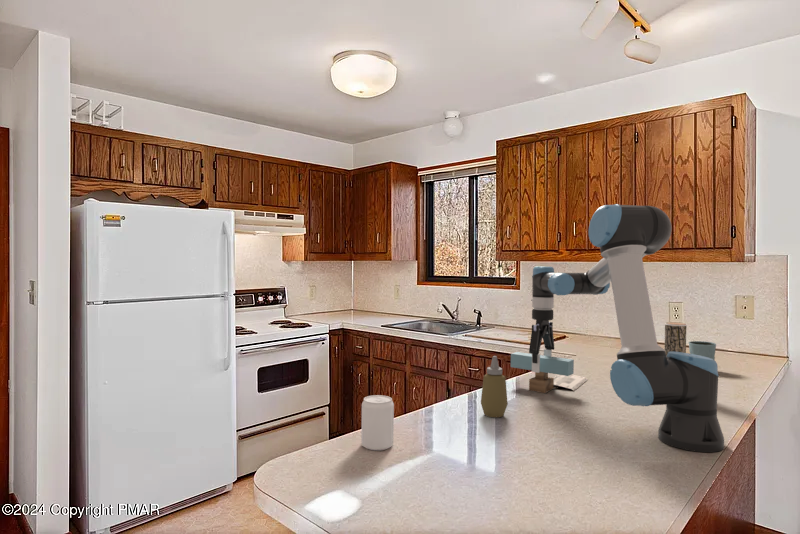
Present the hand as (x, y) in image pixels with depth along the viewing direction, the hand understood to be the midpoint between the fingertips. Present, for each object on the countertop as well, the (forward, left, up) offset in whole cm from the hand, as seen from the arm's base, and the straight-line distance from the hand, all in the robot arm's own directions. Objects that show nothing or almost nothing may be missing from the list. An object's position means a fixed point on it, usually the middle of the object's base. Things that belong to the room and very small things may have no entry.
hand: (541, 369), depth 190 cm
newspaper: (+15, -3, -8) cm, 17 cm away
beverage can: (-81, +10, -7) cm, 82 cm away
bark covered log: (+26, -39, -7) cm, 47 cm away
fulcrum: (0, 0, -7) cm, 7 cm away
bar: (0, 0, 0) cm, 0 cm away
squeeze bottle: (-39, -1, -7) cm, 40 cm away
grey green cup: (+76, -41, -7) cm, 87 cm away
